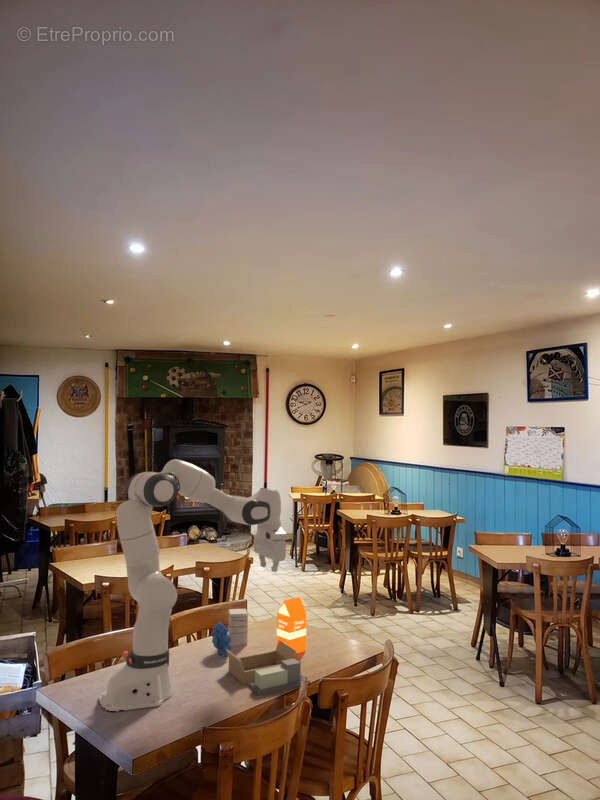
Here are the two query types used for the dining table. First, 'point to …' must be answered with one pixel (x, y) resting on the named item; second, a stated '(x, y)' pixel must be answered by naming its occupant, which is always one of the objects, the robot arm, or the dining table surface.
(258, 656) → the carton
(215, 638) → the grapes
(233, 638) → the supplement box
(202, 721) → the dining table surface
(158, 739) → the dining table surface
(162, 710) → the dining table surface
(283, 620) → the orange juice
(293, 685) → the rubber mat
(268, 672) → the block
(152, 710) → the dining table surface
